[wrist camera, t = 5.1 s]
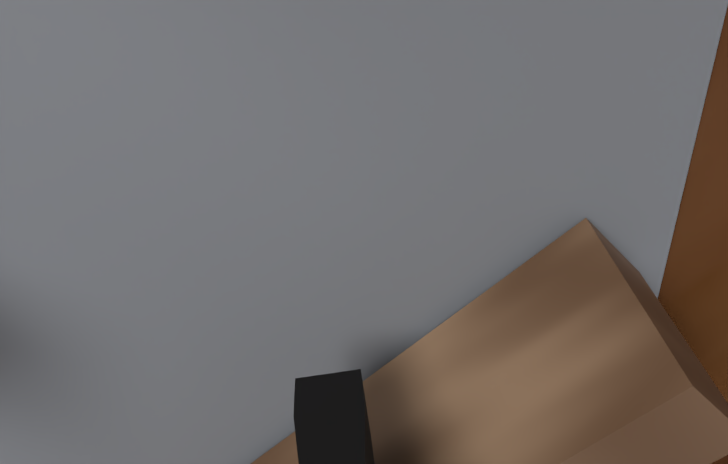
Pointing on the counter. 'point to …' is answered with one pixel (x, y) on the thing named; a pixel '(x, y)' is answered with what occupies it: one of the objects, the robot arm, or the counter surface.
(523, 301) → the bar
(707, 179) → the counter surface
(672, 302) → the counter surface
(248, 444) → the mat
